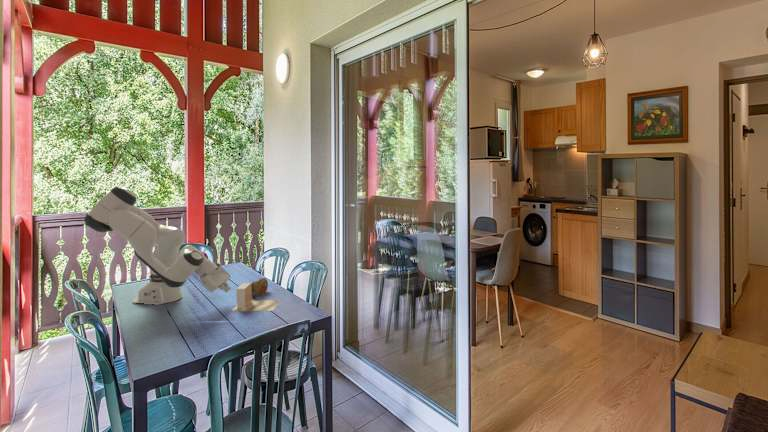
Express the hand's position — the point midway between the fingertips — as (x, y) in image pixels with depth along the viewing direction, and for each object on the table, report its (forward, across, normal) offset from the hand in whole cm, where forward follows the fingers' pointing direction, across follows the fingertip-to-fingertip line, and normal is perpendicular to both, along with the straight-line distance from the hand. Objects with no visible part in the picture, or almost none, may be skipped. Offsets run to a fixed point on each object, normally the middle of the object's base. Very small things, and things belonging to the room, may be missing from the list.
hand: (228, 290), depth 186 cm
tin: (+12, +18, -1) cm, 22 cm away
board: (+15, 0, -4) cm, 16 cm away
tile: (+11, 0, 0) cm, 11 cm away
